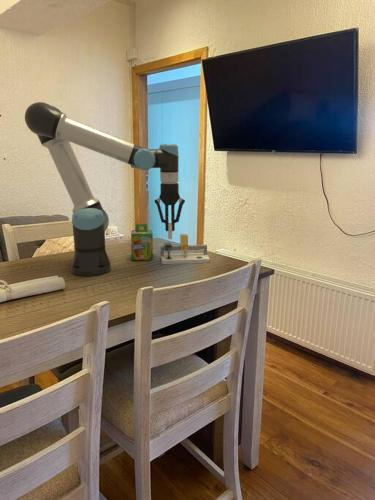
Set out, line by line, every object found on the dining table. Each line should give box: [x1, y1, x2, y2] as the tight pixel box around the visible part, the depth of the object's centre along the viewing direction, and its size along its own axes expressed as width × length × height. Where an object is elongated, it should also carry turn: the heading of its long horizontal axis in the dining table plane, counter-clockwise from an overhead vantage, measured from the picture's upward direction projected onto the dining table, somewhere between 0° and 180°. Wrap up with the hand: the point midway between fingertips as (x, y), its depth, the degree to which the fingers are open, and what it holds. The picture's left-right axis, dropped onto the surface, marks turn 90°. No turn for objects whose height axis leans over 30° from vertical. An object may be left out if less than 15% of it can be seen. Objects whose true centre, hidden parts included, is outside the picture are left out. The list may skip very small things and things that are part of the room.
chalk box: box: [130, 223, 154, 261], centre depth 166 cm, size 9×9×15 cm
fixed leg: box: [163, 242, 173, 259], centre depth 163 cm, size 3×8×5 cm, turn 7°
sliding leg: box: [179, 233, 189, 257], centre depth 163 cm, size 3×8×8 cm, turn 7°
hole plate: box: [160, 244, 211, 265], centre depth 163 cm, size 20×10×6 cm, turn 97°
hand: (170, 238), depth 164 cm, fingers closed
